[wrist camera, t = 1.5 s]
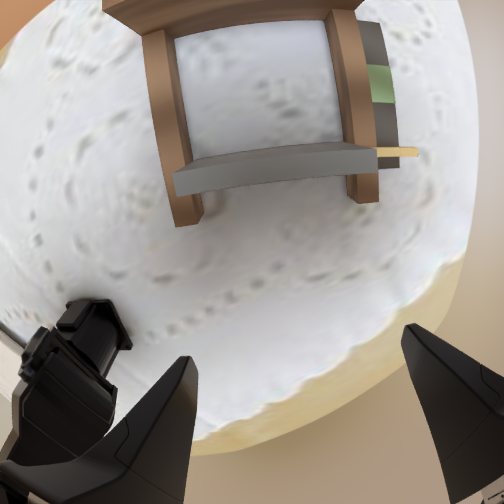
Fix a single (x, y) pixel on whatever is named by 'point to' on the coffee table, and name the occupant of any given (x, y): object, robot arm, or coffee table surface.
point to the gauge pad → (281, 165)
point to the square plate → (9, 364)
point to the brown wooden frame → (256, 11)
